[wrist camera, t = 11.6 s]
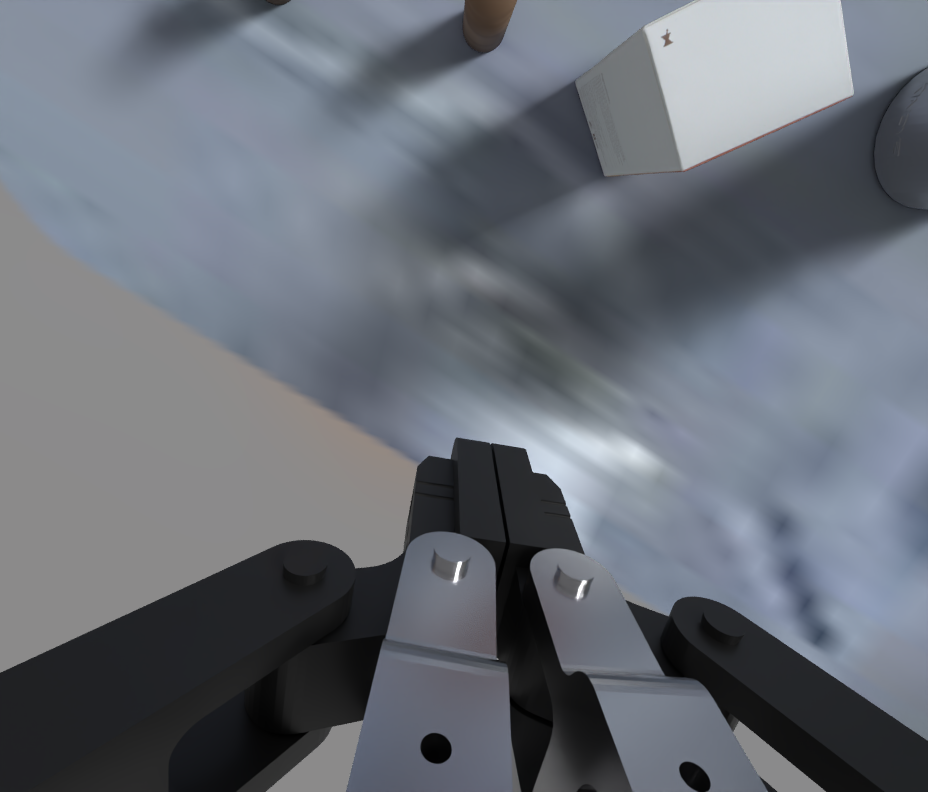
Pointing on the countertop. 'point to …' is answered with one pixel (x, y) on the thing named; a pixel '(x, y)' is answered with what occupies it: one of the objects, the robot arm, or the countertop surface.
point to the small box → (713, 81)
